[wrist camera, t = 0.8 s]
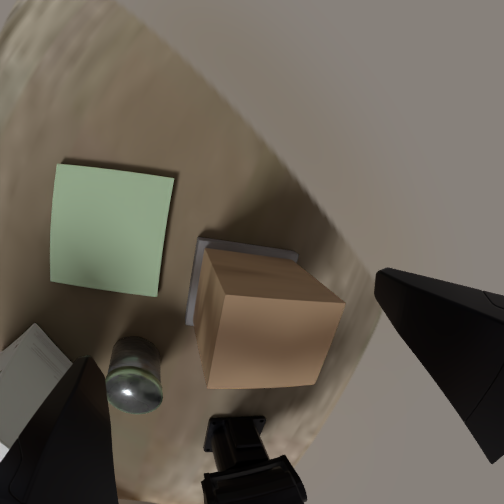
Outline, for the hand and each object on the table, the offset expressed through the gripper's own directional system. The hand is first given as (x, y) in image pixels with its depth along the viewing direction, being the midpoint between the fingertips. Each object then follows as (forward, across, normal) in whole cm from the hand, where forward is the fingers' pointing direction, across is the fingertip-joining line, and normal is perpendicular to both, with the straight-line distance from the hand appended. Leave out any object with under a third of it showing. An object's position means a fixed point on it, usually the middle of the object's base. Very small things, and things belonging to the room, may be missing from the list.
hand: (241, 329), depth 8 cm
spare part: (+13, +8, +12) cm, 20 cm away
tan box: (+14, -2, +8) cm, 16 cm away
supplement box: (+13, +19, +10) cm, 25 cm away
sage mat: (+14, +7, 0) cm, 16 cm away
